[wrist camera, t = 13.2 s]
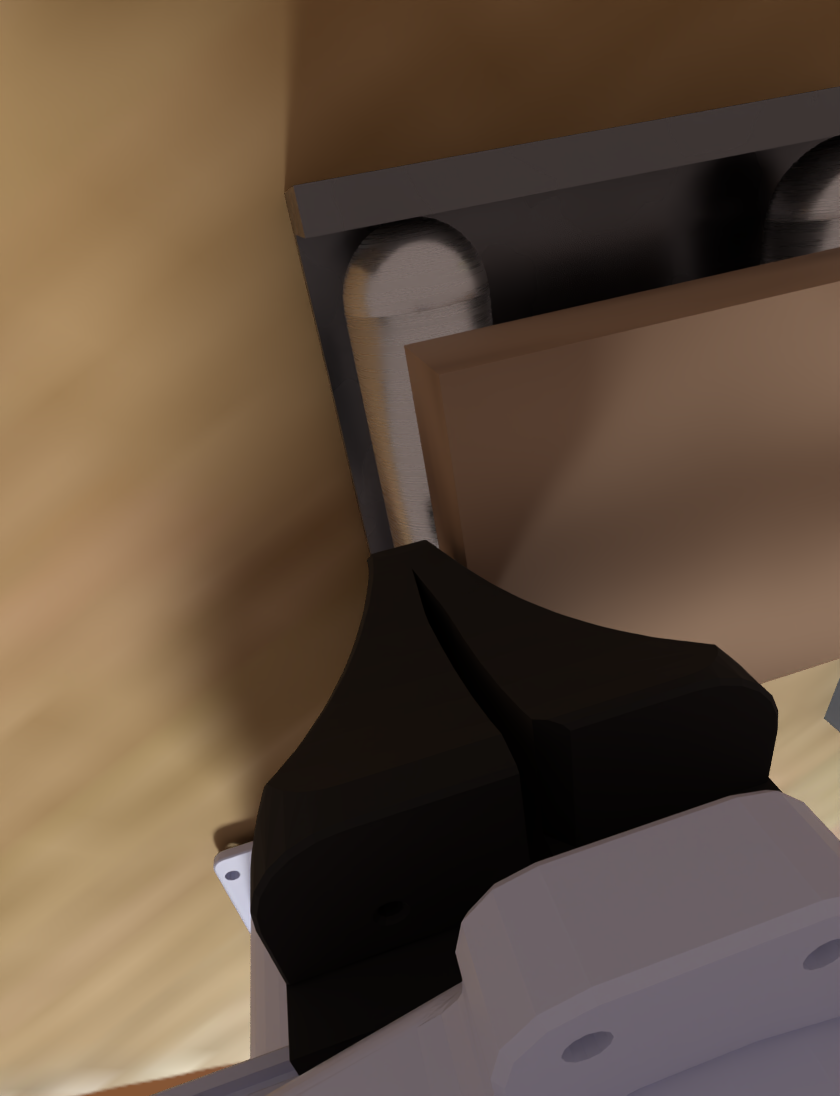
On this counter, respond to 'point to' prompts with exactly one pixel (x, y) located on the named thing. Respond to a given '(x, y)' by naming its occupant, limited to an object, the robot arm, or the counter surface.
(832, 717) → the roller
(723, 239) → the roller bed
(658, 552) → the slab
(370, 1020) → the robot arm
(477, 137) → the counter surface
